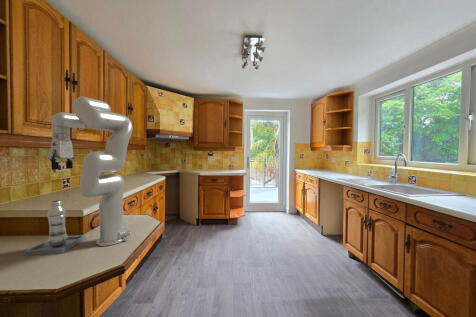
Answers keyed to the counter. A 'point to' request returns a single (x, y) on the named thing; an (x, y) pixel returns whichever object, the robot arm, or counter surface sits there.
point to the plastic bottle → (57, 224)
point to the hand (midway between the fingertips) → (62, 169)
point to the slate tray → (47, 249)
